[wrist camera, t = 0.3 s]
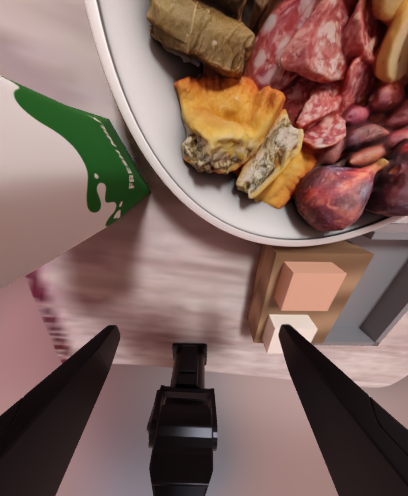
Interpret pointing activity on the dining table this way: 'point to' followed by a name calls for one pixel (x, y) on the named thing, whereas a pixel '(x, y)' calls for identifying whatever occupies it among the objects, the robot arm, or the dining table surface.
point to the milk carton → (56, 179)
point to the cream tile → (296, 321)
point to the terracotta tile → (308, 286)
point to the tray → (376, 290)
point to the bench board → (273, 258)
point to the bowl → (267, 109)
